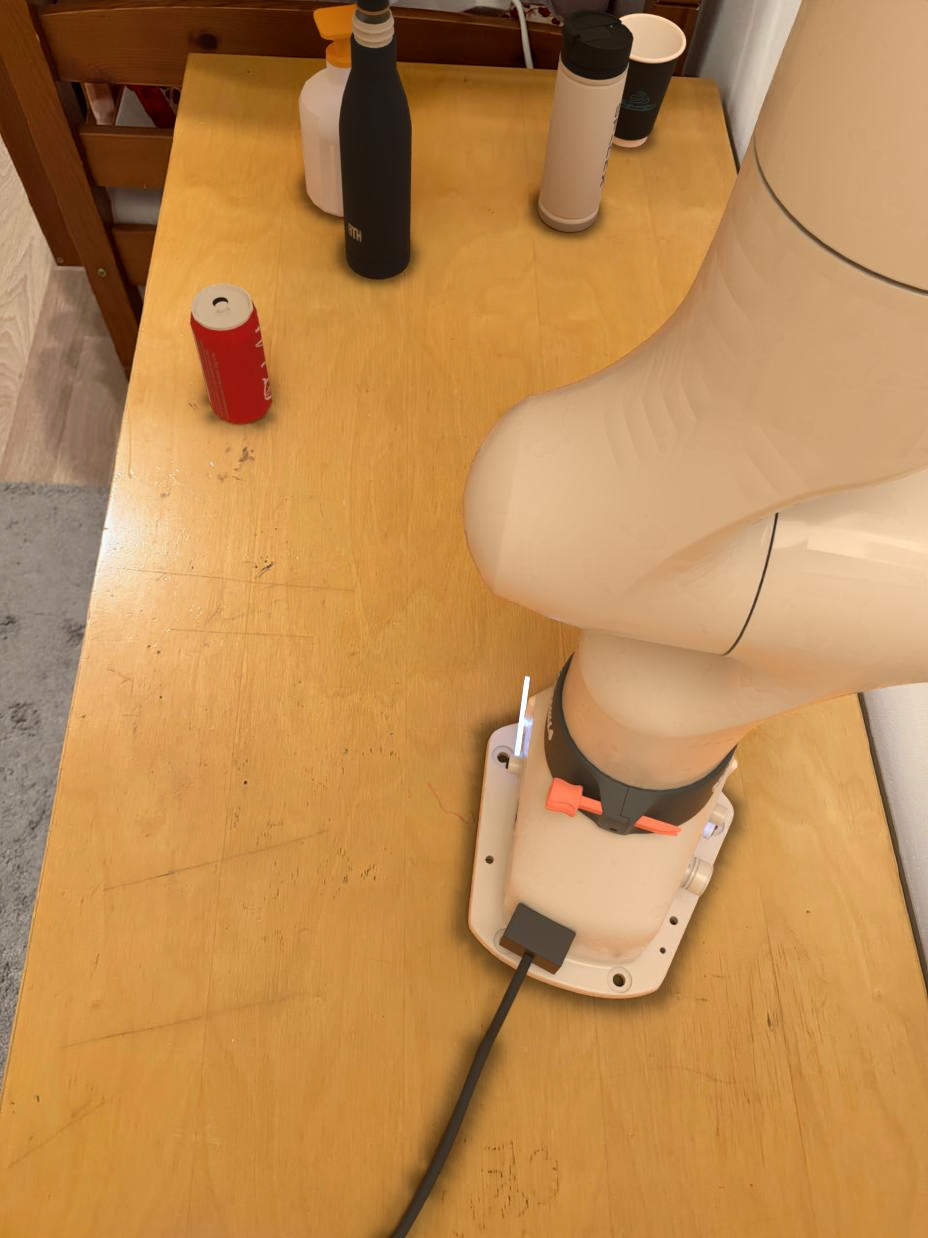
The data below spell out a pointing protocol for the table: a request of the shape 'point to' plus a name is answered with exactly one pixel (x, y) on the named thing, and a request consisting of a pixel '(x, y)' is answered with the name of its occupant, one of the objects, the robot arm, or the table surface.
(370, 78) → the black insulated water bottle
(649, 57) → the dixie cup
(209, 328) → the soda can
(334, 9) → the soap bottle
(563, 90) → the travel mug
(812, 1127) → the table surface
